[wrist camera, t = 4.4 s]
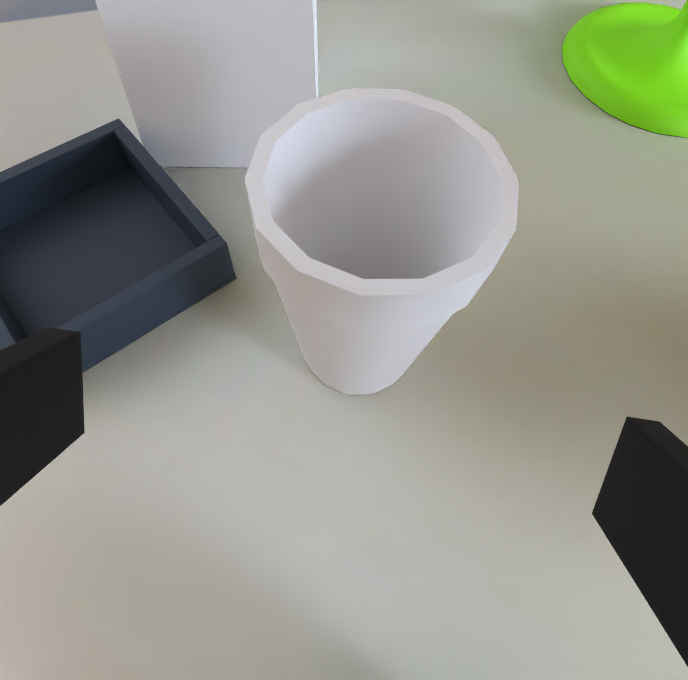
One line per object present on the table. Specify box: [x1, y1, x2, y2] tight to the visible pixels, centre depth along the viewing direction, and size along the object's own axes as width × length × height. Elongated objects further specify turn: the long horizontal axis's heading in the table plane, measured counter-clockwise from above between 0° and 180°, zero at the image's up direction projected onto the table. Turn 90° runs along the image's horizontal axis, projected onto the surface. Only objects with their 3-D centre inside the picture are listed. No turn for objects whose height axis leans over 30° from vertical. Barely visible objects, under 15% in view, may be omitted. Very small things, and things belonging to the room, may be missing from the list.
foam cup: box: [244, 88, 519, 395], centre depth 23 cm, size 10×9×13 cm
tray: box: [0, 119, 236, 373], centre depth 29 cm, size 12×12×4 cm
